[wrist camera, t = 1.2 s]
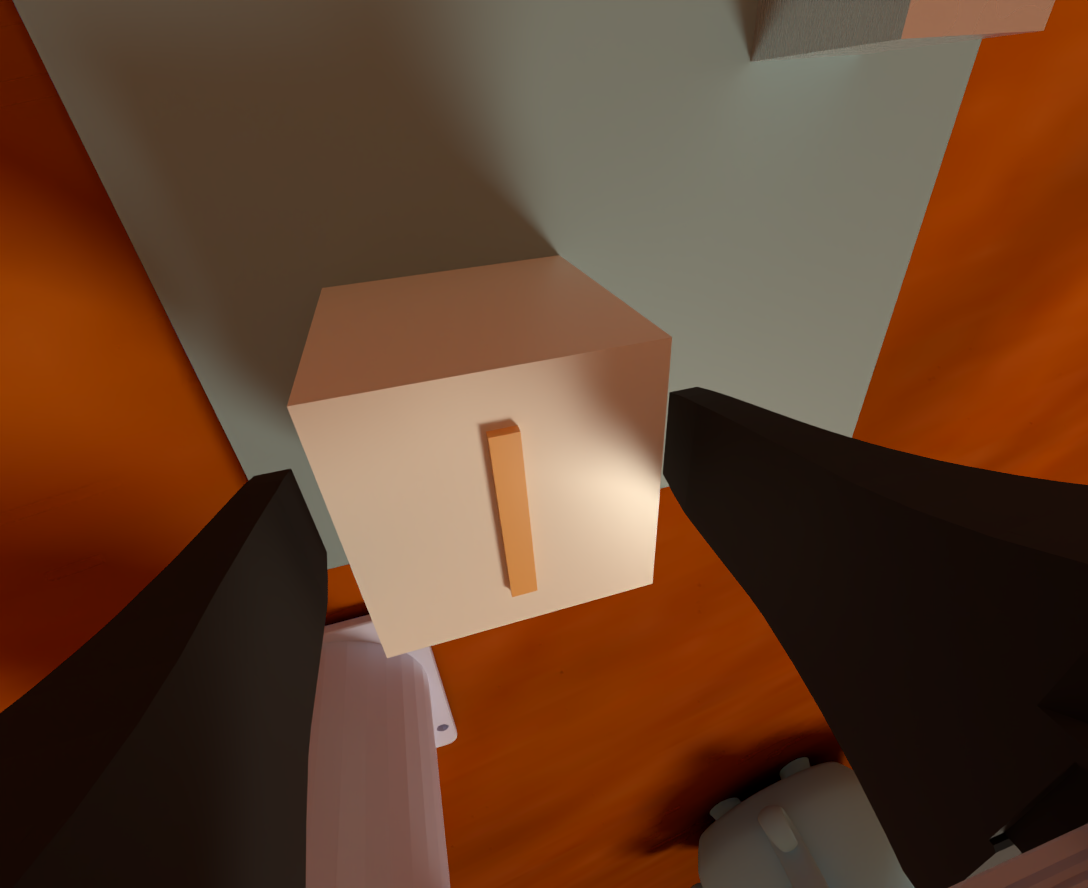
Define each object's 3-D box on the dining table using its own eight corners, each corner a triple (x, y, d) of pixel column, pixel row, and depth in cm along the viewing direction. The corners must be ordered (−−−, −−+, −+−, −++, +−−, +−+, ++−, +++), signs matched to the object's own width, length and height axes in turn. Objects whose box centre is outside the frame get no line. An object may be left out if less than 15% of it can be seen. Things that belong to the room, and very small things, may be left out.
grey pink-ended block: (861, 54, 12) (1043, 30, 9) (750, 61, 11) (901, 38, 8) (877, -13, 11) (1080, -66, 8) (760, -10, 11) (927, -65, 7)
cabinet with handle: (559, 255, 12) (678, 341, 8) (568, 443, 16) (656, 590, 11) (322, 288, 11) (285, 413, 7) (381, 483, 14) (387, 667, 10)
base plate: (827, 426, 20) (849, 442, 19) (300, 549, 16) (296, 576, 15) (1022, -249, 11) (1087, -286, 10) (-113, -340, 7) (-192, -415, 6)
